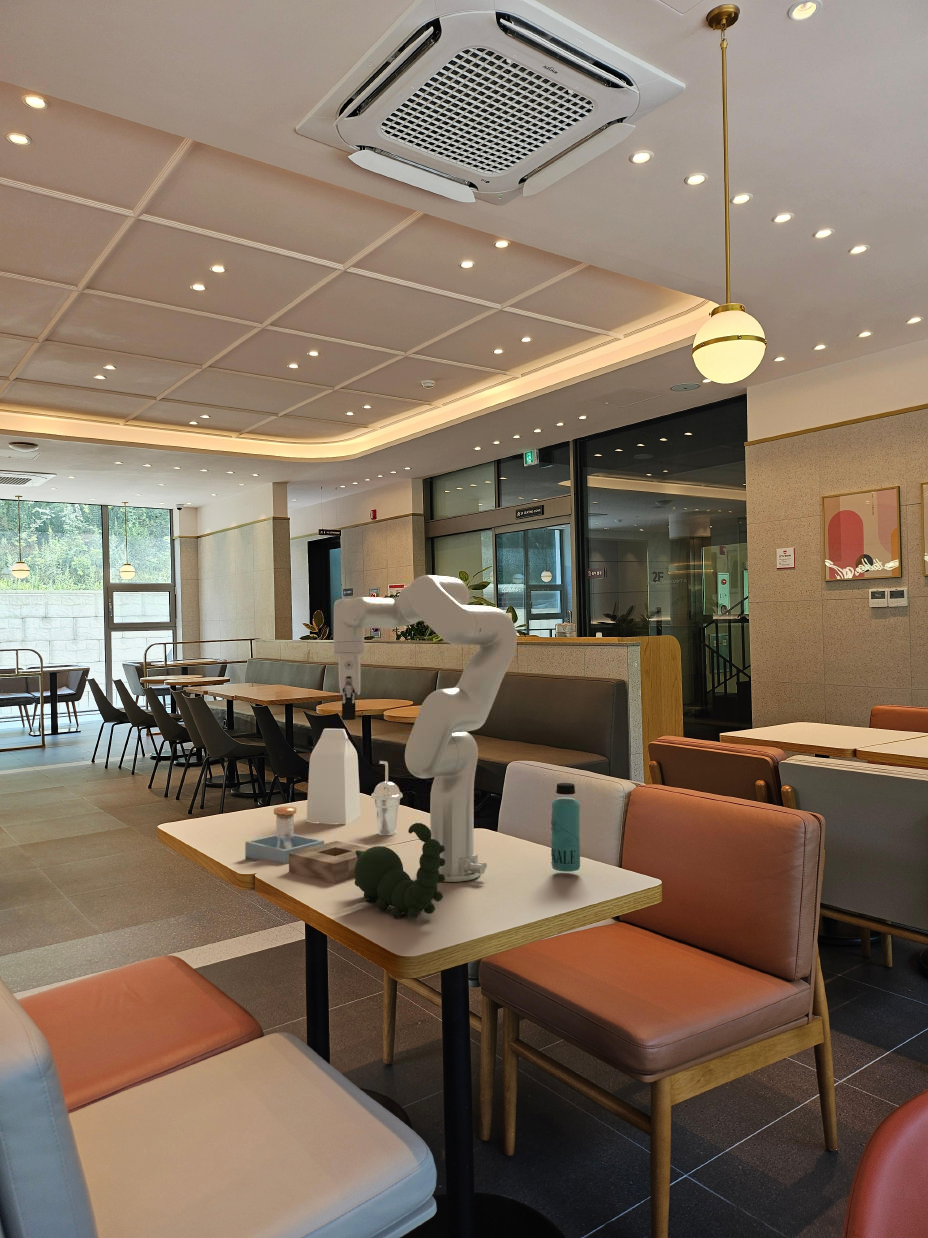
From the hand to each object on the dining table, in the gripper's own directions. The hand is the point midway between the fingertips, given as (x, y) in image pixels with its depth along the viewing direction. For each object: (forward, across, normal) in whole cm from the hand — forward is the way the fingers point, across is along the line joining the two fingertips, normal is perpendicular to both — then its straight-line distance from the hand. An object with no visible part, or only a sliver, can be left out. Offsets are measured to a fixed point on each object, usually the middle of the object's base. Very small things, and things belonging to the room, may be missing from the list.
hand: (348, 718), depth 204 cm
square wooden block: (+32, -23, +3) cm, 40 cm away
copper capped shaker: (+32, -7, +15) cm, 36 cm away
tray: (+32, -6, +15) cm, 36 cm away
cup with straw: (+32, +16, -10) cm, 37 cm away
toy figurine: (+33, -48, -9) cm, 59 cm away
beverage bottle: (+32, -29, -47) cm, 64 cm away
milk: (+33, +35, +4) cm, 48 cm away
